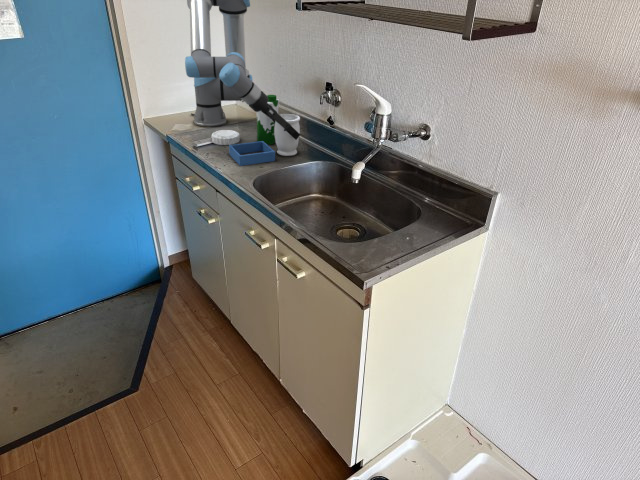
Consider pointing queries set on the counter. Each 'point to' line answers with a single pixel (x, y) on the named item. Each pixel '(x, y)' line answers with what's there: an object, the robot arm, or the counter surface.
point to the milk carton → (267, 123)
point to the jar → (287, 136)
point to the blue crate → (254, 158)
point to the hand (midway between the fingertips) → (291, 132)
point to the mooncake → (225, 137)
